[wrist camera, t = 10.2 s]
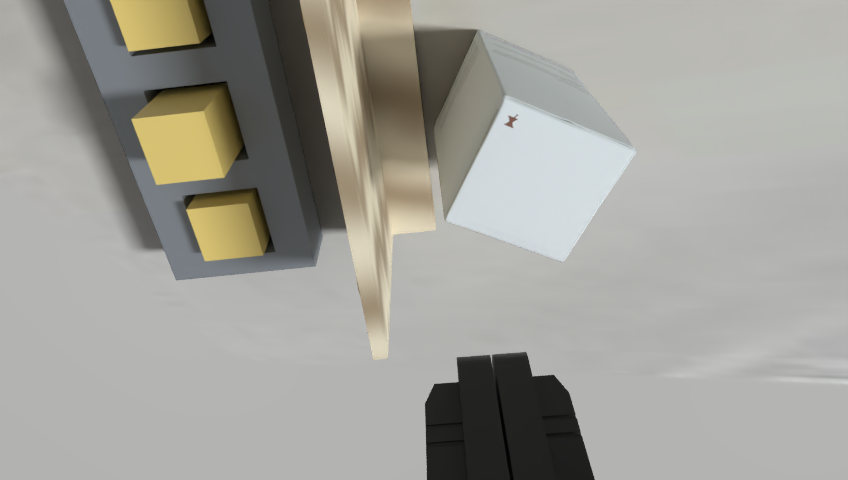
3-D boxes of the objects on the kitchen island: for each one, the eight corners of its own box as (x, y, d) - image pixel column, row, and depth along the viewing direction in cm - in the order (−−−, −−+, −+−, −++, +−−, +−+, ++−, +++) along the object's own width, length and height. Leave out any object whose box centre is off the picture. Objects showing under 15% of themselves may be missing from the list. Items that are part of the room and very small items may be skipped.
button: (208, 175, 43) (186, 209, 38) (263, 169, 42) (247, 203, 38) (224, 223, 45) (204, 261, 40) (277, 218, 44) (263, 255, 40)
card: (321, -103, 34) (273, -86, 22) (397, -113, 34) (391, -101, 22) (378, 230, 45) (368, 360, 33) (435, 224, 45) (444, 352, 33)
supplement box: (429, 129, 41) (437, 221, 30) (477, 25, 38) (505, 89, 27) (524, 167, 43) (563, 267, 32) (578, 71, 39) (642, 149, 29)
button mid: (163, 89, 37) (131, 119, 33) (227, 82, 37) (203, 111, 32) (183, 150, 39) (156, 185, 35) (244, 143, 39) (224, 177, 34)
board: (73, -72, 34) (37, -66, 31) (246, -94, 34) (227, -89, 30) (193, 249, 46) (176, 280, 42) (322, 236, 45) (315, 266, 42)
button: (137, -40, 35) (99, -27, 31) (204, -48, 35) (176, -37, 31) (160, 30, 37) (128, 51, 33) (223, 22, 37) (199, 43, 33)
